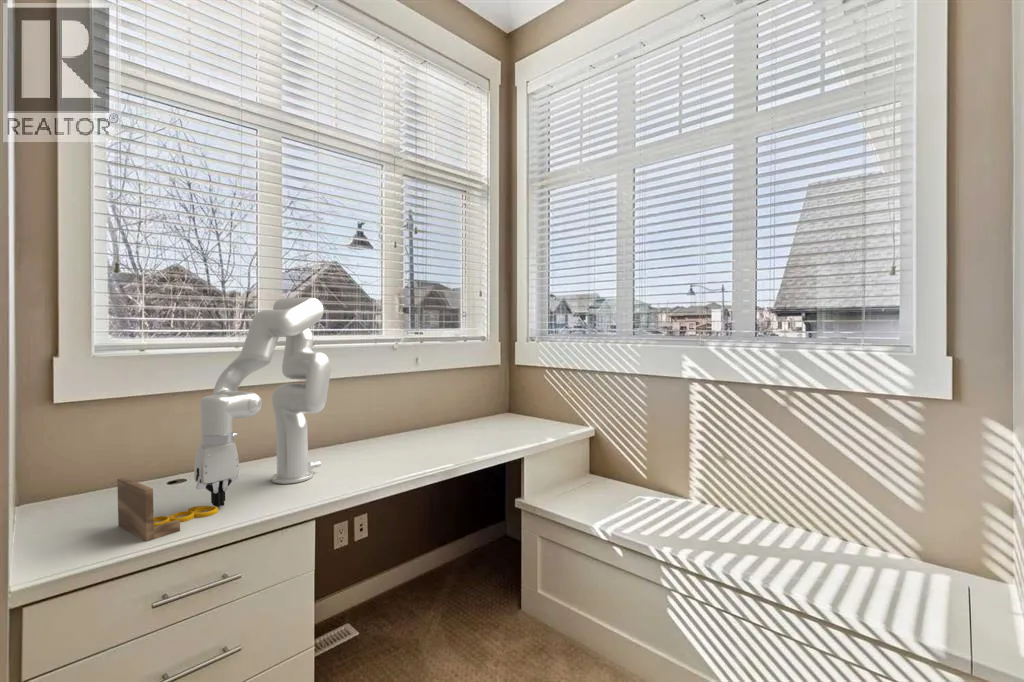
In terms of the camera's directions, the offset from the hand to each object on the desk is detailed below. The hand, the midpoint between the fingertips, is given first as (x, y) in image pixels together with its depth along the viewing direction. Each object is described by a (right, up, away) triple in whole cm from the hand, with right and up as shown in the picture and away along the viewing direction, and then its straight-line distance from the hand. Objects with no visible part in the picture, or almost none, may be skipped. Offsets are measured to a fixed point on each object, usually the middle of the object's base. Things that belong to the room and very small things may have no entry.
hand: (218, 505), depth 134 cm
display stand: (-9, -1, -14) cm, 17 cm away
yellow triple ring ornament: (-5, -2, -7) cm, 9 cm away
